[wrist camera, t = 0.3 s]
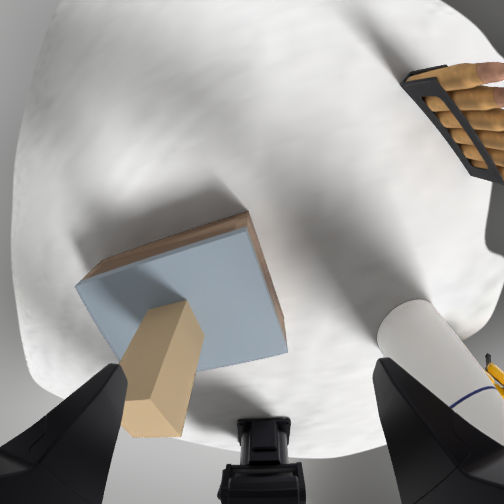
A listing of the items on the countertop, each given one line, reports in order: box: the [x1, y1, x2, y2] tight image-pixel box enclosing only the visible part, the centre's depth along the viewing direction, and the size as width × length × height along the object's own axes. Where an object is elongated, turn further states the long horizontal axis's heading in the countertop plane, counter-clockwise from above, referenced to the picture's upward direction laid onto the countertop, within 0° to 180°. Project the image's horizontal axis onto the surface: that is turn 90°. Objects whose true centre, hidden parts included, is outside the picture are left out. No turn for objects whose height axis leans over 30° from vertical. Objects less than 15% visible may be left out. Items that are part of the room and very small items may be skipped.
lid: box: [75, 227, 288, 438], centre depth 17 cm, size 10×14×10 cm
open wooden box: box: [82, 211, 287, 343], centre depth 24 cm, size 10×14×4 cm
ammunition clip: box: [401, 62, 504, 185], centre depth 14 cm, size 11×2×12 cm, turn 51°
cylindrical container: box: [377, 299, 504, 446], centre depth 15 cm, size 7×7×25 cm
